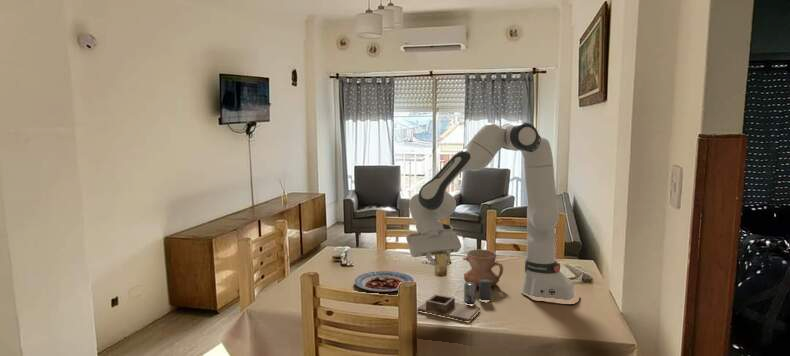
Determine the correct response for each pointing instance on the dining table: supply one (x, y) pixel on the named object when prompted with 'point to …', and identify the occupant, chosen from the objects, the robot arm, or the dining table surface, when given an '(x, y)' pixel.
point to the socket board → (448, 308)
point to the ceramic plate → (382, 280)
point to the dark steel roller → (469, 292)
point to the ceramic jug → (482, 267)
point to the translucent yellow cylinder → (441, 264)
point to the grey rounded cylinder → (485, 289)
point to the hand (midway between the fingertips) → (441, 263)
